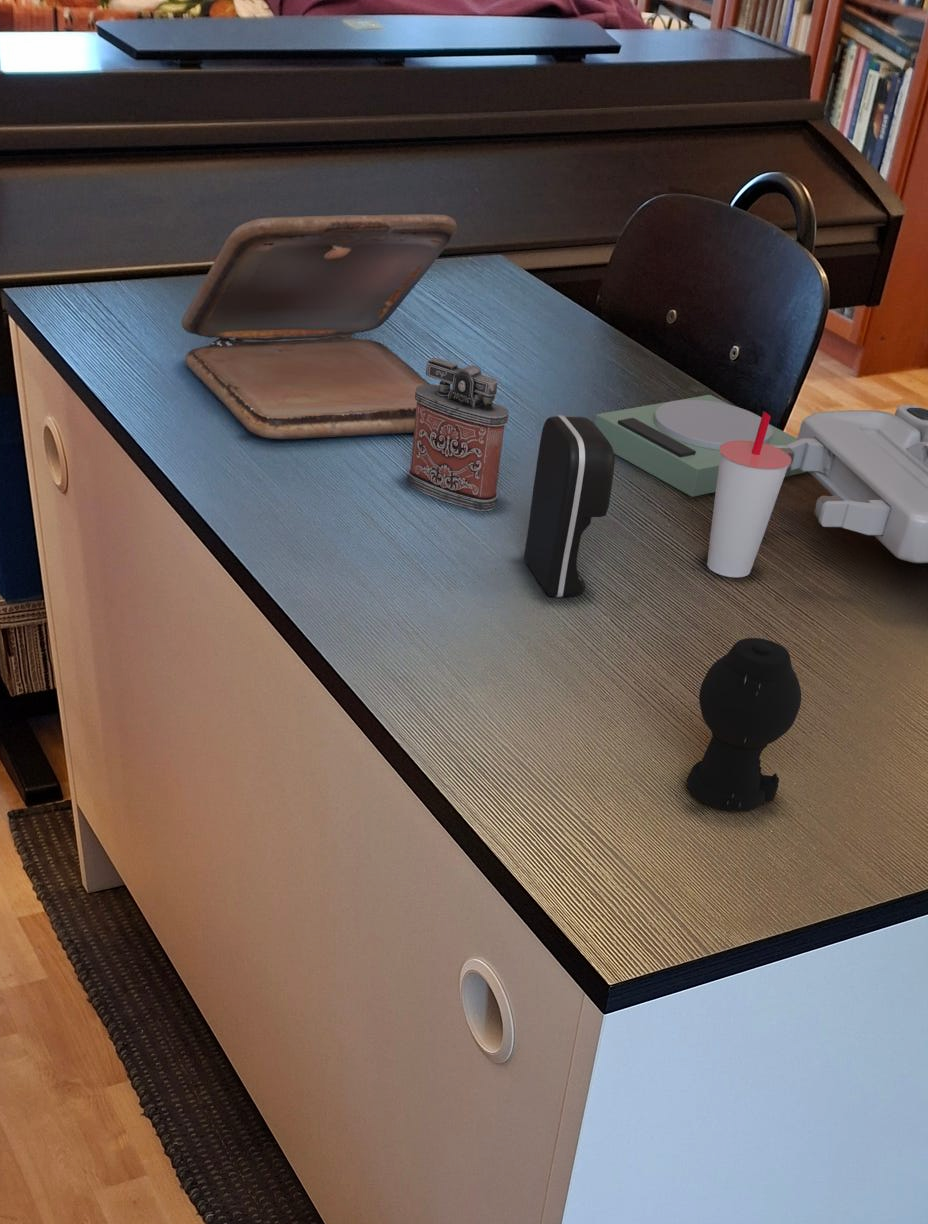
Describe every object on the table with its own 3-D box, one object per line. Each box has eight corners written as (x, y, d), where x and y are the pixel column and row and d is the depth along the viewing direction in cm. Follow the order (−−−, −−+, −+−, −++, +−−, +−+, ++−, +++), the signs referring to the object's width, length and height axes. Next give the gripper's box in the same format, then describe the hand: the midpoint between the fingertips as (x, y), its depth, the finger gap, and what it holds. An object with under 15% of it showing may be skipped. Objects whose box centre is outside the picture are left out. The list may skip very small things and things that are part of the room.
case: (379, 351, 152) (393, 165, 142) (475, 433, 139) (498, 235, 128) (174, 360, 145) (172, 164, 134) (254, 449, 131) (260, 238, 120)
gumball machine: (772, 834, 95) (815, 684, 88) (673, 816, 95) (709, 665, 89) (773, 777, 100) (814, 631, 93) (680, 760, 100) (714, 614, 94)
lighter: (504, 503, 128) (521, 376, 122) (482, 515, 126) (499, 386, 119) (421, 473, 131) (433, 347, 124) (398, 484, 129) (409, 357, 122)
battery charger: (597, 600, 116) (626, 445, 109) (548, 601, 115) (573, 445, 108) (568, 558, 121) (593, 407, 114) (521, 559, 120) (543, 406, 113)
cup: (752, 554, 126) (790, 401, 118) (770, 585, 122) (811, 428, 114) (687, 551, 125) (720, 396, 117) (703, 581, 121) (739, 423, 113)
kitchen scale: (704, 420, 148) (711, 387, 146) (805, 472, 140) (814, 438, 138) (591, 441, 140) (597, 407, 139) (691, 497, 133) (699, 462, 131)
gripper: (1006, 583, 118) (840, 586, 115) (883, 473, 133) (732, 472, 129) (1036, 501, 114) (864, 501, 111) (905, 396, 129) (750, 393, 125)
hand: (792, 485), depth 120 cm, fingers open, 8 cm apart
